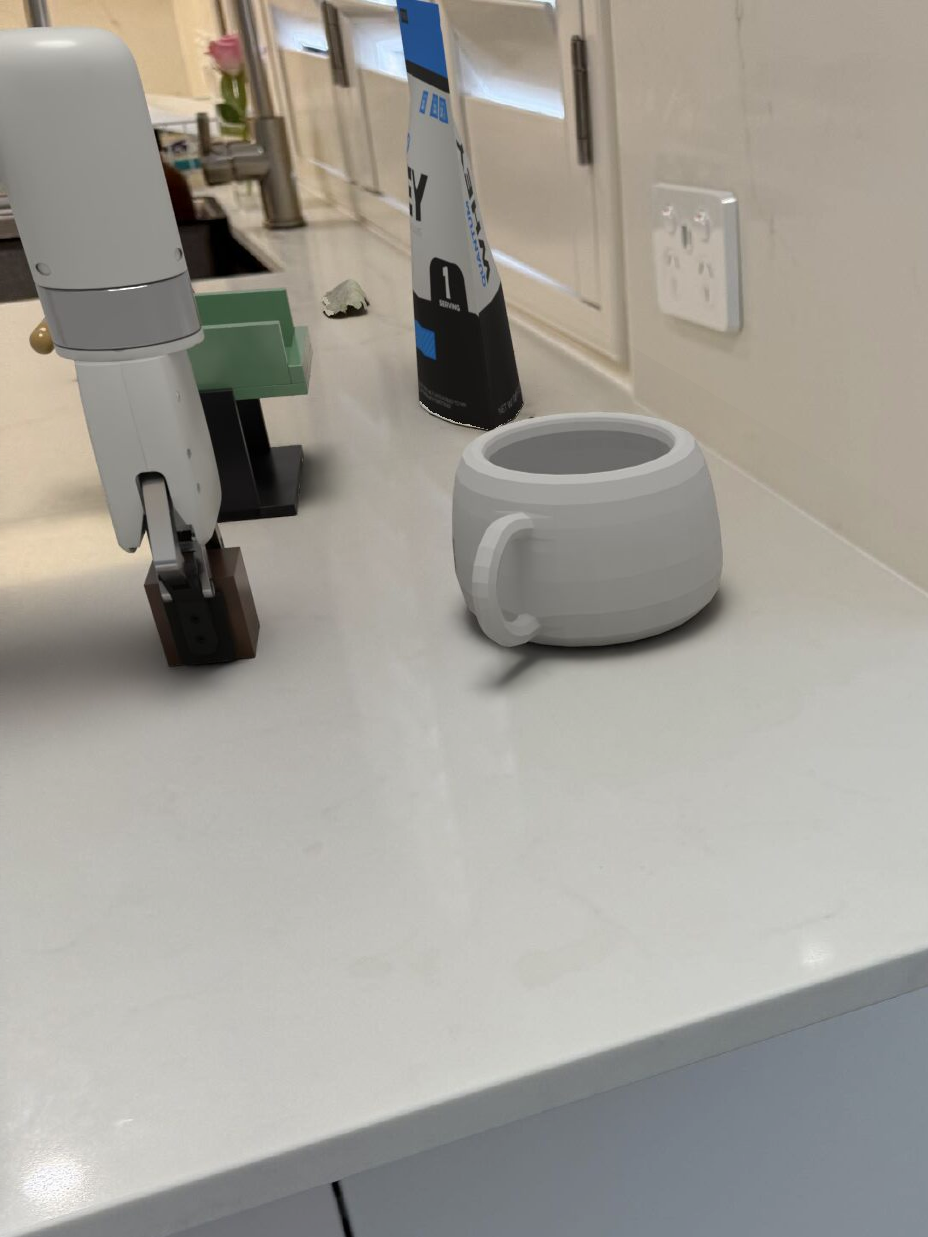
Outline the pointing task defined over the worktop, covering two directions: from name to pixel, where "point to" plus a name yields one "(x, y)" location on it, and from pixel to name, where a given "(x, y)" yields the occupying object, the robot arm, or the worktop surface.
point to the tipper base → (249, 459)
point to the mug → (585, 529)
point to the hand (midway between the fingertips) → (213, 638)
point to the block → (235, 595)
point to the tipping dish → (240, 344)
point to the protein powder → (451, 249)
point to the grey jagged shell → (346, 296)
